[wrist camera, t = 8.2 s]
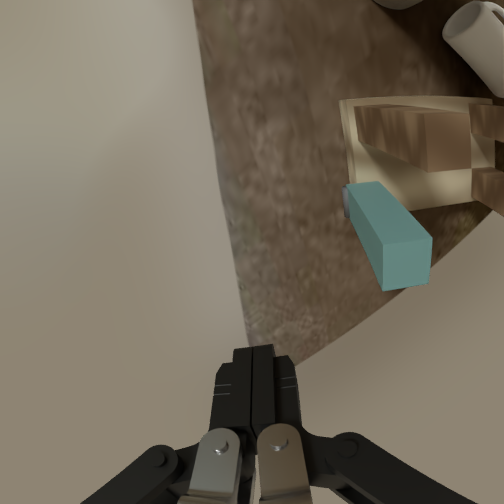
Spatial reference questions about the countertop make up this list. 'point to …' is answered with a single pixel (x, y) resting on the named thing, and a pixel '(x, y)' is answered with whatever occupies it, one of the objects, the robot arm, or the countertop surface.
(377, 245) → the folding leg
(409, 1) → the thermos bottle
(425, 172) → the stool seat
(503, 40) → the mug
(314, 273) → the countertop surface
